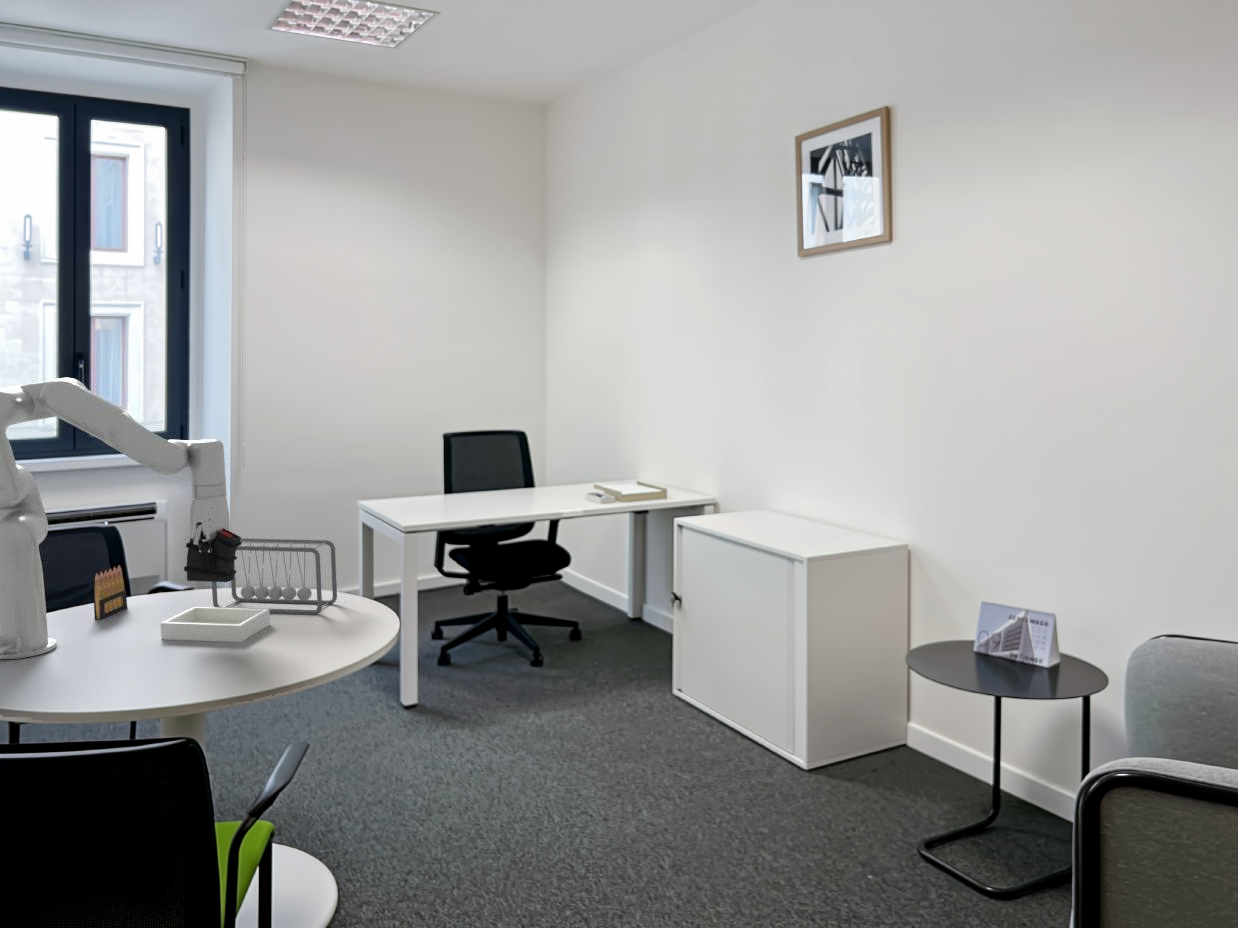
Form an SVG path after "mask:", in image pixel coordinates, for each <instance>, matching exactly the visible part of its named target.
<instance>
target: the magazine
mask: <svg viewBox="0 0 1238 928" xmlns="http://www.w3.org/2000/svg"><path fill="white" fill-rule="evenodd" d="M189 538H190V539H189V542H186V544H185V548H187V554H186V565H185V566H184V567H183V571H184V572H186V581H188V582H210V583H212V582H216V583H228V582H231V580H233V579H234V574H235V575H236V573H237V569H235V570H234V561H235V560H238V556H236V553H237V550H236V549H237V547H238V546H242V542H241V541H240V539H241V538H242V537H241V536H239V535H238V534H236V533H233V532H231V531H228V530H226V529H224V528H223V530H222V531H220V532H219V531H217V535H216V537H215V538H214V539H213V551H212V552H214V553H215V568H213V569H205V568H202V566H201V553H200V552H199V548H198V547H197V546H196V545H194V543H193V542H194V540H192V539H191V537H189ZM204 539H206V537H204ZM204 543H206V544H207V545H208V542H204Z"/></svg>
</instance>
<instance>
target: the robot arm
mask: <svg viewBox="0 0 1238 928" xmlns="http://www.w3.org/2000/svg"><path fill="white" fill-rule="evenodd" d="M55 417H57V418H59V419H60V420H63V421H64V422H66V423H68V424H70V425H72V426H74V427H75V428H78V429H79V430H81V431H83V432H85V433H87V434H89V435H91V436H93V437H95V438H97V439H99V440H100V441H102V442H104V443H105V444H106V445H108V446H109V447H111V448H113V449H115V450H117V451H118V452H120V453H121V454H123V455H124V456H126V457H127V458H130V459H131V460H133V461H135V462H136V463H138V464H140V465H142V466H144V467H146V468H148V469H150V470H152V471H154V472H156V473H158V474H161V475H166V476H173V475H176V474H178V473H180V472H182V471H183V470H186V469H190V479H191V480H190V481H191V494H192V495H191V497H192V499H191V504H190V510H189V511H190V513H189V514H190V515H189V529H190V530H189V531H190V532H189V533H190V538H191V539H192V540H194V542H193V543H194V545H196V546H197V547H198V548H199V552H200V553H201V566H202V568H205V569H213V568H215V553H214V552H212V551H213V539H214V538H215V537H216V535H217V531H219V532H220V531H222V530H223V528H224V529H226V530H228V531H230V527H231V526H230V525H231V523H230V513H229V505H228V500H227V483H226V481H227V480H226V479H227V478H226V463H225V449H224V448H225V447H224V443H223V442H222V441H221V440H219V439H198V440H184V439H183V440H182V439H165V438H164V437H162V436H160V435H158V434H156V433H154V432H152V431H150V430H149V429H147V427H145V426H142V425H141V424H140V423H139V422H138V421H136V420H135V419H134V418H133V416H132V415H131V414H130V413H129V412H127V410H125V408H124V409H123V408H122V407H120V406H118V405H116V404H114V403H113V402H111V401H109V400H107V399H105V398H103V397H101V396H100V395H97V393H94V392H93V391H90V390H89V389H88V388H87V387H86V385H85V384H84V383H83V382H81V381H79V380H78V379H75V378H71V377H61V378H59V377H58V378H54V379H52V380H48V381H40V382H35V383H34V382H33V383H27V384H22V385H21V384H20V385H14V386H13V385H12V386H6V387H5V386H4V387H0V660H17V659H23V658H24V659H25V658H30V657H34V656H35V657H36V656H40V655H42V654H46V653H48V652H51V651H52V650H54V649H56V647H57V645H58V644H57V640H56V639H54V638H51V637H49V633H48V620H47V618H48V617H47V607H46V606H47V605H46V596H45V584H44V583H45V582H44V572H43V565H42V560H41V555H40V549H39V547H40V546H39V545H40V544H41V543H42V542H44V540H45V539H46V537H47V536H48V531H49V521H48V517H47V515H46V514H47V513H46V512H45V508H44V505H43V501H42V498H41V495H40V492H39V488H38V485H37V481H36V480H35V478H34V476H33V474H32V473H31V471H29V470H28V469H27V468H26V467H24V466H22V465H19V464H17V462H16V459H15V457H14V456H15V455H14V453H13V449H12V446H11V443H10V441H9V439H8V437H7V428H8V427H10V426H14V425H17V424H21V423H25V422H31V421H38V420H43V419H44V420H45V419H51V418H55ZM230 532H231V531H230ZM204 537H206V539H204ZM204 542H208V545H207V544H206V543H204Z"/></svg>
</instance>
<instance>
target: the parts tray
mask: <svg viewBox="0 0 1238 928" xmlns="http://www.w3.org/2000/svg"><path fill="white" fill-rule="evenodd" d="M249 608H250V607H231V608H219V607H214V606H213V607H212V606H193V607H190V608H188V609H187V610H184V611H182V612H180V613H178V614H176V615H174V616H172V617H170V618H168V619H166V620H164V621H161V622H160V636H161V637H160V638H161V640H168V641H170V640H171V641H172V640H174V641H193V642H195V641H199V642H201V641H202V642H203V641H204V642H220V643H221V642H226V643H242V642H244V641H246V640H247V639H249V638H250V637H253V636H254V635H255V634H257V633H258V632H260V631H262V630H263V629H265V628H267V627H269V626H271V620H270V619H271V615H270V614H271V613H270V612H269V609H270V608H262V609H249Z"/></svg>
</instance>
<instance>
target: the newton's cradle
mask: <svg viewBox="0 0 1238 928" xmlns="http://www.w3.org/2000/svg"><path fill="white" fill-rule="evenodd" d="M240 541H241V542H242V543H246V544H242V543H241V544H242V545H239V546H238V547H237V549H236V551H241V555H242V556H241V558H244V555H243V551H249V552H251V551H253V552H255V554H257V551H258V552H262V553H263V554H262V556H263V557H262V563H265V562H264V561H265V559H264V558H265V557H264V556H265V552H268V553H269V560H270V568H271V569H273V565H272V559H271V552H276V554H278V552H282V554H283V555H282V557H283V562H284V564H286V561H285V555H284V552H290V555H289V558H290V560H289V569H292V568H291V565H292V563H291V562H292V552H293V553H294V552H295V553H296V555H297V560H298V567H299V573H300V578H301V584H302V586H301V587H299V588H298V589H297V590H296V588H295V587H294V586H291V581H290V580H291V575H289V576H288V573H287V572H285V576H286V578H288V577H289V578H288V579H286V583H287V586H285V587H284V588H283V589H282V587H281V586H279V585H277V583H275V579H274V572H273V571H274V570H271V573H272V579H273V585H272V586H271V587H269V588H268V586H266V585H264V584H263V583H264V580H263V579H264V569H262V571H261V572H262V573H261V575H262V576H261V575H260V569H259V563H258V555H255V559H256V566H257V571H258V577H259V578H258V579H259V584H260V585H258V586H257V587H256V588H255V586H253V585H252V584H250V579H247V573H246V567H245V561H244V559H242V561H243V562H242V563H243V569H244V574H245V580H246V581H245V582H246V585H244V586H242V588H241V590H240V595H241V597H239V596H238V594H237V584H236V582H237V581H236V573H235V574H234V579H233V580H231V581H230V583H231V595H232V598H233V599H234V600H235V601H233V602H232V603H230V604H228V605H226V606H220V604H219V603H218V587H217V582H211V591H212V593H211V594H212V605H213V607H219V608H232V606H233V605H234V604H237V603H240V602H241V603H263V604H264V603H265V604H297V605H298V604H300V605H317V607H316V609H291V608H290V609H289V608H283V609H282V608H268V609H269V612H270V614H287V615H289V614H290V615H291V614H293V615H294V614H295V615H317V614H319V613H320V612H321V611H322V609H323V608H324V607H326V606H328V605H333V604H335V602H336V601H337V600H338V589H337V586H338V585H337V562H336V547H335V545H334V543H333V542H332V541H330V540H327V539H326V540H325V539H323V540H322V539H293V538H292V539H291V538H288V539H285V538H245V537H243V538H242V537H241V539H240ZM248 544H250V545H248ZM252 544H257V545H252ZM259 544H261V545H259ZM262 544H263V546H262ZM264 544H271V545H270V546H266V545H264ZM279 544H281V545H282V544H284V546H279ZM285 544H286V545H285ZM275 545H276V546H275ZM292 545H300V546H292ZM305 545H316V546H314V547H309V546H308V547H306V546H305ZM324 545H326V546H328V547H329V549H330V562H331V563H330V564H331V584H332V585H331V586H332V587H331V588H332V589H331V590H332V591H331V592H332V599H331V600H327V599H326V600H323V599H322V598H323V597H322V574H321V571H322V570H321V556H320V553H319V551H318V550H317V548H319V547H321V546H324ZM302 546H303V547H302ZM301 552H302V553H304V558H303V559H304V562H303V563H304V564H303V566H304V567H303V569H304V570H303V576H302V571H301V566H300V558H299V553H301ZM306 553H312V554H313V555H314V557H315V575H316V576H315V580H316V599H311V597H312V594H313V593H312V590H311V588H310V587H308V586H305V584H306V582H305V580H306V576H305V575H306ZM248 562H249V564H248V573H250V568H251V558H249V561H248ZM275 564H276V565H275V576H277V572H278V560H276V563H275ZM235 566H236V564H235V560H234V570H236V569H235V568H236V567H235ZM286 566H287V565H284V571H287V567H286ZM260 577H261V578H260ZM268 597H269V598H268ZM281 597H282V598H281ZM296 597H297V598H298V599H295V598H296ZM248 608H249V609H263V608H261V607H260V608H259V607H258V608H257V607H256V608H255V607H248Z"/></svg>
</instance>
